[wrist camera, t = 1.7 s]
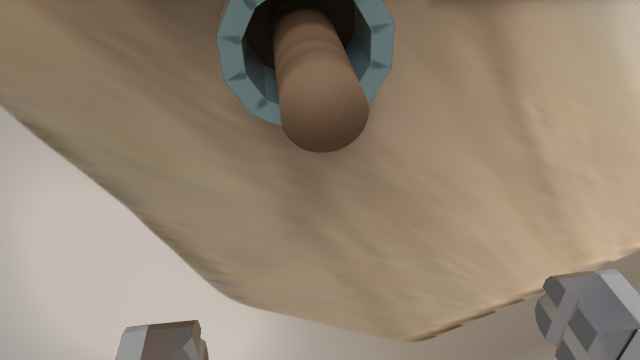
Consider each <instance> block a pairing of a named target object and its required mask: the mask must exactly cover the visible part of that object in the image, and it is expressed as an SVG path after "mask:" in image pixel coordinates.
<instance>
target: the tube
mask: <svg viewBox="0 0 640 360" xmlns="http://www.w3.org/2000/svg"><path fill="white" fill-rule="evenodd" d="M264 1H265V0H225V1H224V4H223V6H222V10H221V15H220V20H219V25H218V30H217V36H216V38H217V43H218V49H219V55H220V61H221V66H222V72H223V78H224V81H225V83H226V85H227V86H228V87H229V88H230V89H231V90H232V92H233V93H234V94H235V95H236V96H237V98H238V99H239V100H240V101H241V102H242V103H243V105H244V106H245V107H246V108H247V109H248V111H249V112H250V113H251V114H253V115H254V116H256V117H259V118H261V119H264V120H266V121H269V122H271V123H274V124H276V125H279V126H282V124H281V118H280V108H279V99H278V89H277V80H276V70H274V69H272V68H269V67H267V66H265V65H264V64H263V63H262V62H261V61H260V59H259V58H258V57H257V55H256V54H255V53H254V51H253V50H252V49H251V47H250V46H249V45H248V43H247V41H246V34H245V30H246V28H247V26H248V23H249V21H250V18H251V16H252V14H253V11H254V9H255V7H257V6H258V5H260V4H261V3H262V2H264ZM352 1H353V3H354V35H353V37H352V38H351V40H350V42H349V44H348V46H347V47H346V49H345V52H346V54H347V56H348V59H349V61H350V63H351V65H352V67H353V69H354V72H355V74H356V76H357V78H358V80H359V82H360V85H361V87H362V89H363V91H364V93H365V95H366V98H367V101H368V104H369V103H370V101H371V100H372V98H373V97H374V95H375V93H376V92H377V90H378V89H379V87H380V85H381V84H382V82H383V81H384V79H385V77H386V76H387V74H388V73H389V71H390V69H391V67H392V53H393V37H394V21H393V19H392V17H391V15H390V14H389V12H388V10H387V8H386V6H385V4H384V2H383V0H352Z"/></svg>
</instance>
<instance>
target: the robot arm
mask: <svg viewBox="0 0 640 360" xmlns="http://www.w3.org/2000/svg"><path fill="white" fill-rule="evenodd" d="M543 288H544V290H545V291H546V293H545V294H544V295H543V296H541V297H540V298H539V299H538V301H537V304H536V307H535V314H536V321H537V324H538V326H539V329H540V330H541V333H542V334H543V336H544V338H545V339H547V340H548V341H550V342H551V343H553V344H554V345H556V354H555V356H556V358H557V359H558V360H640V295H639V294H638V293H637V292H636V291H635V290H634V288H633V287H632V286H631V285H630V284H629V283H628V281H627V280H626V279H625V278H624V277H623V276H622V275H621V274H620V273H619V272H618V271H616V270H614V269H604V270H597V271H585V272H577V273H570V274H563V275H556V276H550V277H549V278H547V279H546V280H545V283H544V285H543ZM200 335H201V327H200V324H199V322H198V320H192V321H182V322H172V323H162V324H150V325H142V326H133V327H127V328H126V330H125V331H124V333H123V335H122V338H121V342H120V345H119V348H118V352H117V356H116V359H115V360H208V352H207V346H206V343H205V341H204V340H202V339H201V338H200Z"/></svg>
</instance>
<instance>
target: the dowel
mask: <svg viewBox="0 0 640 360" xmlns="http://www.w3.org/2000/svg"><path fill="white" fill-rule="evenodd" d="M271 32H272V42H273V51H274V61H275V70H276V80H277V89H278V99H279V108H280V118H281V124H282V127H283V130H284V132H285V134H286V135H287V136H288V138H289V139H290V140H291V141H292V142H293V143H294V144H296V145H297V146H299V147H301V148H303V149H305V150H308V151H312V152H331V151H335V150H338V149H341V148H343V147H345V146H347V145H348V144H350V143H351V142H353V141H354V140H355V139H356V138H357V137H358V136H359V135H360V133H361V132H362V131H363V129H364V127H365V125H366V122H367V119H368V112H369V108H368V101H367V98H366V95H365V93H364V91H363V89H362V87H361V85H360V82H359V80H358V78H357V76H356V74H355V72H354V69H353V67H352V65H351V63H350V61H349V59H348V56H347V54H346V52H345V50H344V48H343V46H342V43H341V41H340V39H339V37H338V35H337V33H336V30H335V28H334V26H333V24H332V22H331V20H330V17H329V15H328V13H327V11H326V9H325V7H324V5H323V4H322V3H321V2H320V1H319V0H280V1H279V2H278V4H277V5H276V6H275V8H274V10H273V12H272V16H271Z"/></svg>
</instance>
